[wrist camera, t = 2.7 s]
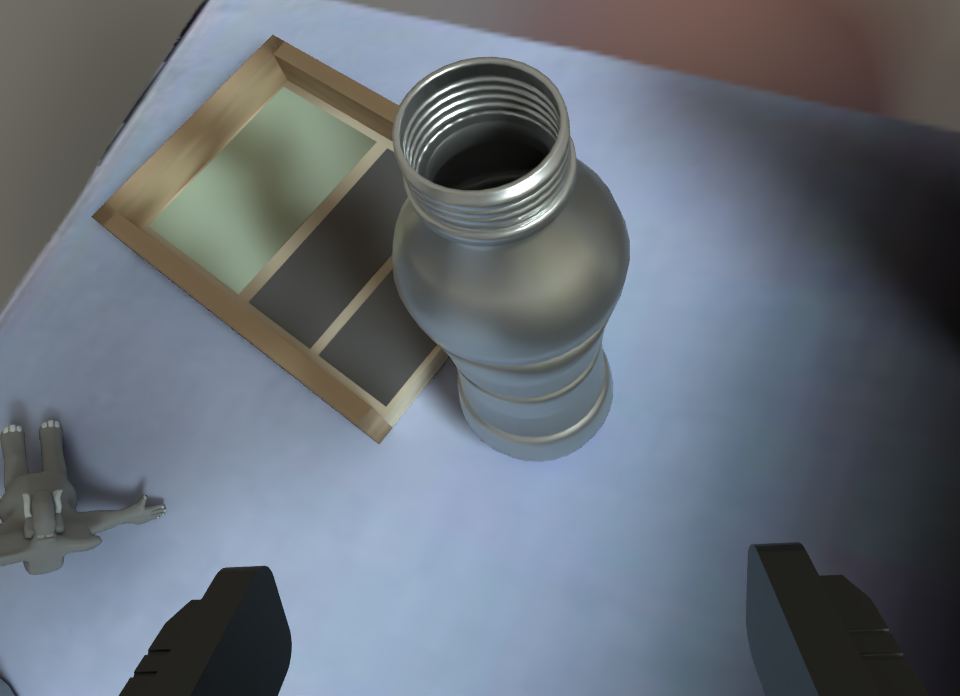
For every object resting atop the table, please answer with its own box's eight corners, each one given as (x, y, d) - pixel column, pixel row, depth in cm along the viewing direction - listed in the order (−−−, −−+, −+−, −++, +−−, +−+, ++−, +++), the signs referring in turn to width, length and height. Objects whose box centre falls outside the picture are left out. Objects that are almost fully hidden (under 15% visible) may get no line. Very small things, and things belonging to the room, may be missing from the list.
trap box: (378, 444, 33) (356, 424, 30) (131, 249, 40) (91, 216, 36) (552, 228, 36) (548, 189, 33) (296, 79, 42) (272, 34, 39)
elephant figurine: (145, 379, 37) (181, 500, 30) (139, 466, 39) (170, 592, 33) (-103, 394, 31) (-119, 546, 25) (-90, 494, 34) (-102, 653, 28)
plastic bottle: (480, 333, 35) (358, 1, 16) (619, 348, 33) (658, 7, 15) (456, 461, 32) (283, 246, 14) (604, 483, 31) (627, 278, 13)
